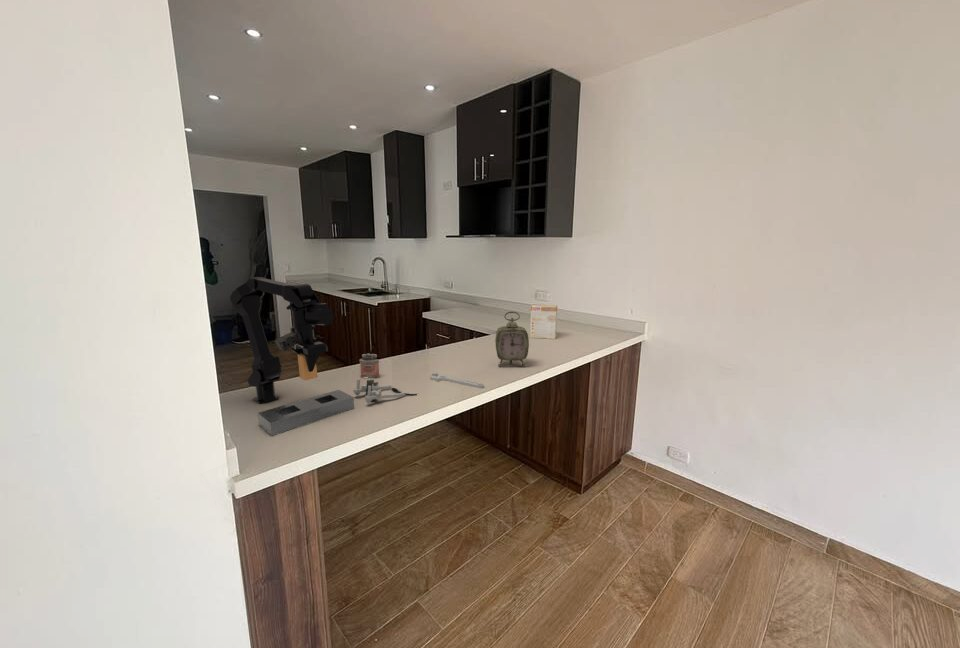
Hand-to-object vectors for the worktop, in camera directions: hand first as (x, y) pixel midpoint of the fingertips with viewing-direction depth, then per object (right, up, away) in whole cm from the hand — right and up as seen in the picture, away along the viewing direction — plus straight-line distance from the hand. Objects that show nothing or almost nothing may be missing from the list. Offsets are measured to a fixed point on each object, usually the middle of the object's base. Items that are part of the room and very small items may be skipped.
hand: (308, 370), depth 126 cm
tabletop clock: (+71, -4, +51) cm, 87 cm away
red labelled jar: (+11, -7, +34) cm, 36 cm away
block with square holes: (+2, -14, -3) cm, 15 cm away
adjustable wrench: (+46, -9, +28) cm, 55 cm away
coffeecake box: (+94, +7, +105) cm, 141 cm away
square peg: (0, -2, +1) cm, 2 cm away
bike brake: (+22, -11, +14) cm, 29 cm away
